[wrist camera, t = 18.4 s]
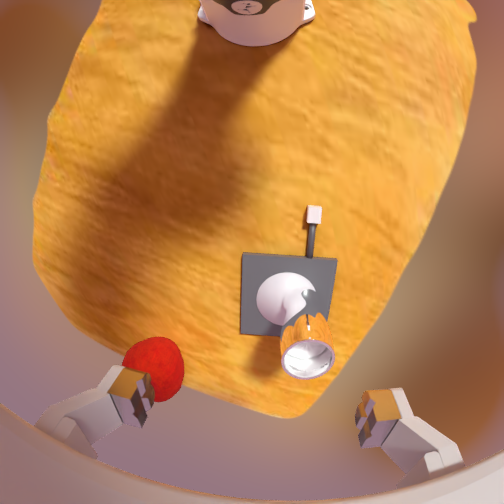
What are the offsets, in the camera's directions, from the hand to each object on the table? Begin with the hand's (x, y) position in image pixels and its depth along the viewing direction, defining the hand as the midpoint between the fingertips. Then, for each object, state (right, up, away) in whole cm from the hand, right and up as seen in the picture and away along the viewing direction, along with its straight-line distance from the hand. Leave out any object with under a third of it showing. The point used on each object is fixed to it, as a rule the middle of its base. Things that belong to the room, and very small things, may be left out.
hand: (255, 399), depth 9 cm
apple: (-18, -14, +44) cm, 49 cm away
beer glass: (+8, -3, +36) cm, 37 cm away
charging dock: (+6, +2, +36) cm, 37 cm away
